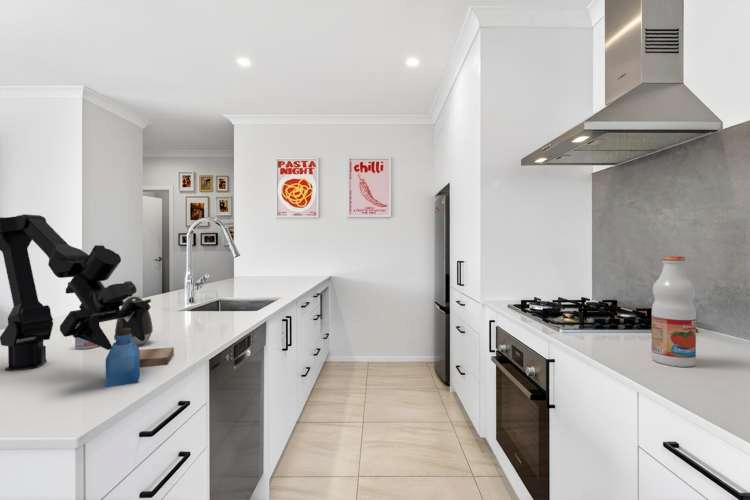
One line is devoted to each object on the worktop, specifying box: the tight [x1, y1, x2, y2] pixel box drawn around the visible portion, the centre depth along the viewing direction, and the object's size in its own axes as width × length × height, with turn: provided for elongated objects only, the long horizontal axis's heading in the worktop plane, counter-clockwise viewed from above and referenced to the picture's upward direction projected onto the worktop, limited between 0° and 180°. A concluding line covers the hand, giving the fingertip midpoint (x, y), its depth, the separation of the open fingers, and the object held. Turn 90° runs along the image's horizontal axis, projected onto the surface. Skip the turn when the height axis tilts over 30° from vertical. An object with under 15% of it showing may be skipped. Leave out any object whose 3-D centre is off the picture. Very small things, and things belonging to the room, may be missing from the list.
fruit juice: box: [650, 255, 697, 368], centre depth 106 cm, size 9×9×28 cm
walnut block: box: [140, 346, 175, 368], centre depth 109 cm, size 11×11×2 cm
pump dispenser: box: [114, 296, 154, 347], centre depth 127 cm, size 10×10×15 cm
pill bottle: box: [74, 337, 99, 350], centre depth 124 cm, size 6×6×11 cm
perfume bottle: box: [105, 328, 141, 388], centre depth 93 cm, size 6×6×12 cm
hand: (127, 344), depth 93 cm, fingers open, 8 cm apart
